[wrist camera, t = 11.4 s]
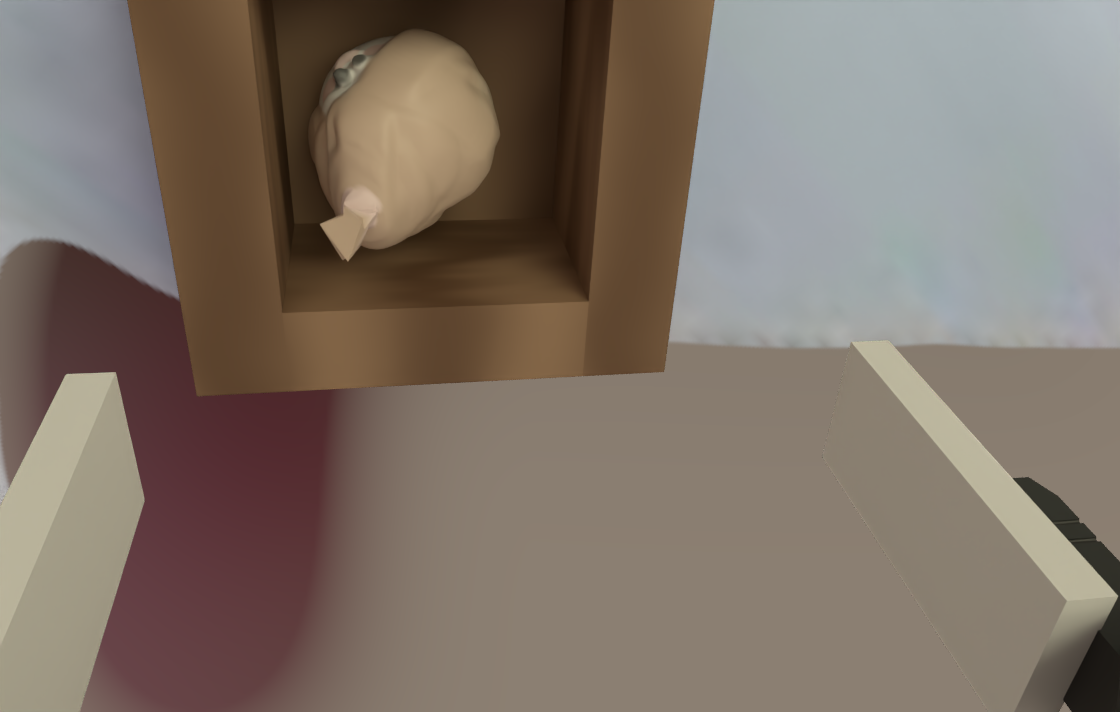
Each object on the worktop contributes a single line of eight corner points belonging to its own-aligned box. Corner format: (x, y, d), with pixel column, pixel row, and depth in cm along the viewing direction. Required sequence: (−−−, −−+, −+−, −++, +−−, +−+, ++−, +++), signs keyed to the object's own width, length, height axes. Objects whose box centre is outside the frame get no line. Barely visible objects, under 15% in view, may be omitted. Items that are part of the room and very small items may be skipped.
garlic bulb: (281, 38, 32) (266, 109, 25) (463, -5, 33) (495, 52, 26) (341, 212, 36) (342, 314, 29) (504, 171, 36) (541, 261, 30)
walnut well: (654, -148, 32) (731, -125, 26) (613, 272, 41) (664, 371, 34) (158, -174, 29) (99, -156, 23) (225, 284, 38) (196, 396, 31)
